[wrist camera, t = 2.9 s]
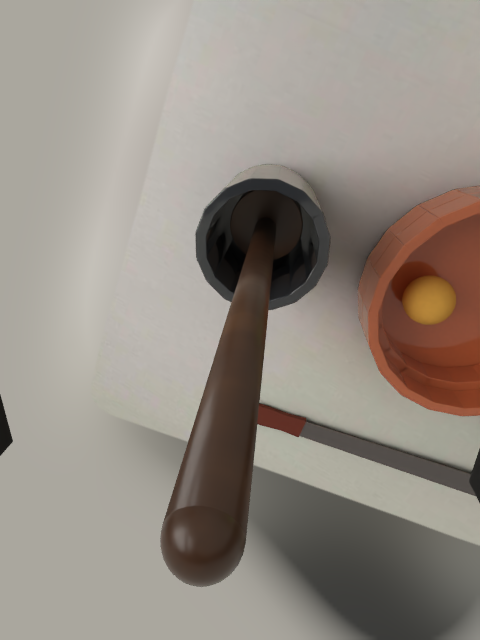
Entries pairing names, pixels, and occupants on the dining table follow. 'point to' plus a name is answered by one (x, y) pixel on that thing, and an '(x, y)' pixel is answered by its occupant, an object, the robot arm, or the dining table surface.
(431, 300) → the ball
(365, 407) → the dining table surface
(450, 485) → the knife
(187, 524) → the wooden plunger
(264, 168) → the crock
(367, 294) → the orange plant saucer
